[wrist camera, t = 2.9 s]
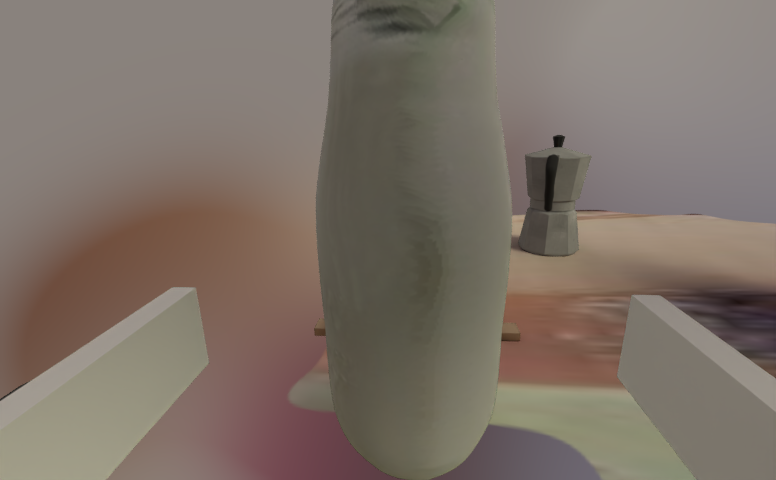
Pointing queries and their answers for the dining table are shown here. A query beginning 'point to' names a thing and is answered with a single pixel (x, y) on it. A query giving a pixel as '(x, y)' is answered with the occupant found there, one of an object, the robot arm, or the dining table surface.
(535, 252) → the coffeepot
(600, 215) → the dining table surface
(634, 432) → the dining table surface
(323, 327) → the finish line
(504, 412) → the dining table surface
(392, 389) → the grey green rounded cylinder
